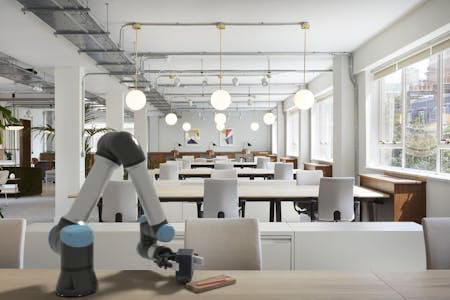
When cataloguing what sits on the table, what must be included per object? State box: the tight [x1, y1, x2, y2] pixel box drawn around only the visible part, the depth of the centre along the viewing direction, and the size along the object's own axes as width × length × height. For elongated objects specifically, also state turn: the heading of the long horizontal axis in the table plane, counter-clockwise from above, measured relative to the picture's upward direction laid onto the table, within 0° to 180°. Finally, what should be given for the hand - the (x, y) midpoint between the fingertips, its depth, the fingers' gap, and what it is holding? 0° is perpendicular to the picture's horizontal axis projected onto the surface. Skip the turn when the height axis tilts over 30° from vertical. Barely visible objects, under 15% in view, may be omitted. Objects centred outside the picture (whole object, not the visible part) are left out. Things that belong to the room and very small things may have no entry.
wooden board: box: [185, 274, 237, 294], centre depth 168 cm, size 8×18×2 cm, turn 130°
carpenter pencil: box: [197, 278, 230, 286], centre depth 166 cm, size 14×1×1 cm, turn 120°
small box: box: [174, 248, 195, 283], centre depth 173 cm, size 11×6×10 cm, turn 179°
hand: (190, 264), depth 170 cm, fingers closed on small box, 11 cm apart
